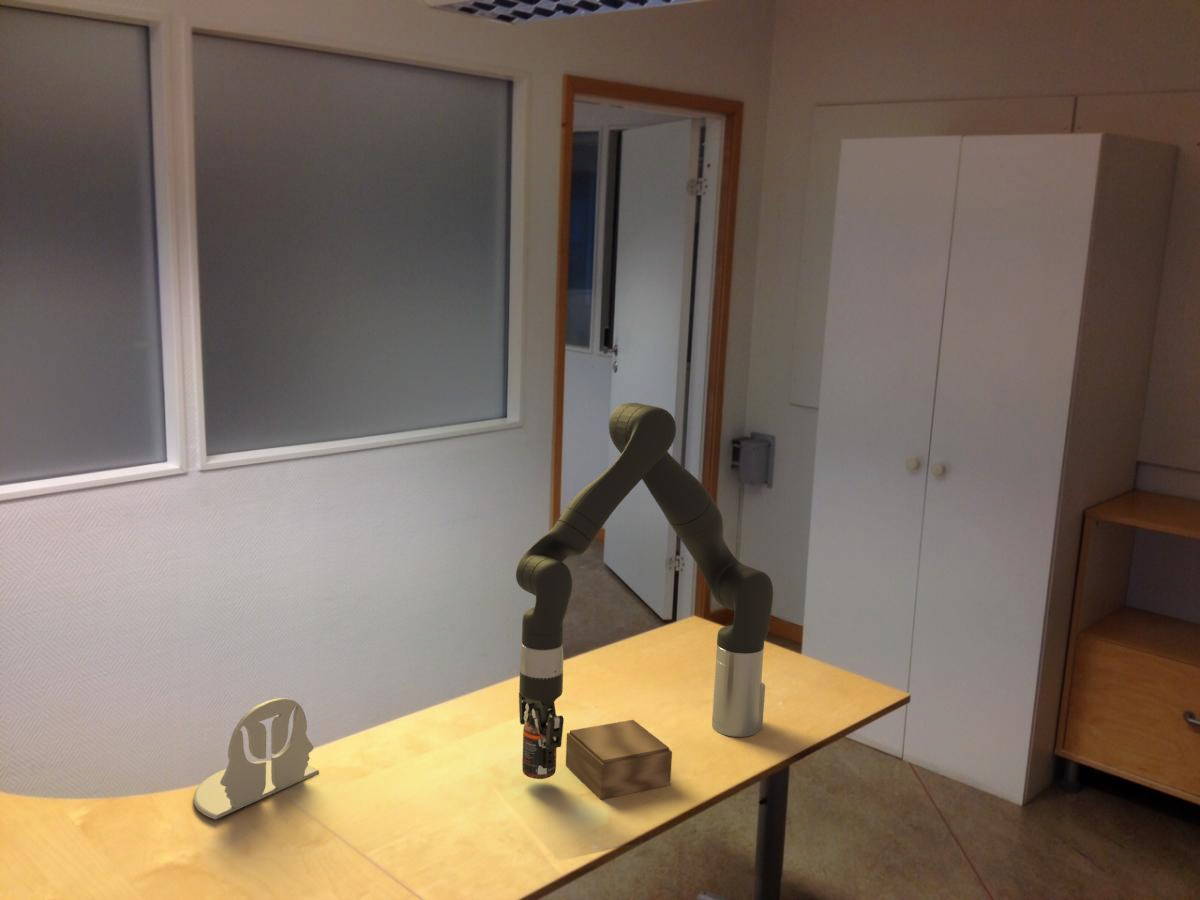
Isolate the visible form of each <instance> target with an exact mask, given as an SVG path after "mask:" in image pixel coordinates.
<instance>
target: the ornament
mask: <svg viewBox="0 0 1200 900" xmlns="http://www.w3.org/2000/svg"><path fill="white" fill-rule="evenodd" d="M292 713H293V714H292ZM291 715H293V717H292V718H293V719H292V729H291V735H290V737H289V724H290V719H291ZM271 718H273V720H272V722H271V730H270V731H271V735H270V737H271V740H270V741H271V742H270V743H271V744H270V745H271V754H273V756H271V757H270V760H265V759H266V758H267V728H266V725H265V724H264V723H262V721H265V720H267V719H268V720H269V719H271ZM307 722H308V721H307V718H306V714H305V711H304V708H303V707H302V706H301V705H300V704H299V703H298V702H297V701H296V700H293V699H290V698H287V697H285V698H284V697H278V698H274V699H269V700H266V701H264V702H262V703H259V704H258V705H256V706H254V707H252V708H251V709H249V711H247V712H246V713H245V714H244V715H243V716H242V717H241V718H240V719H239V722H237V724H236V726H235V727H234V729H233V732H232V734H231V737H230V740H229V745H228V749H227V751H228V752H227V759H228V764H227V767H226V768H225V769H222V770H220V771H217V772H215V773H213V774H211V775H210V776H209V777H207V778H205V779H204V780H203V781H202V782H201V783H200V784H199V785H198V786H197V787H196V789H195V791H194V794H193V803H194V806H195V808H196V809H197V810H198V811H199V812H200V813H201V814H203V815H204V816H206V817H208V818H210V819H213V820H218V819H221V818H222V817H224V816H226V815H228V814H231V813H233V812H235V811H237V810H239V809H242V808H243V807H246V806H248V805H251V804H253V803H255V802H258V801H261V800H262V799H264V798H267V797H268V796H271V795H273V794H276V793H277V792H280V791H282V790H284V789H286V788H289V787H291V786H292V785H295V784H297V783H300V782H302V781H304V780H306V779H308V778H311V777H313V776H316V775H317V774H319V773H320V771H319V770H318V769H316V768H315V767H314V766H310V765H309V761H310V759H311V758H310V755H309V754H310V753H311V752H312V751H314V745H313V743H312V742H311V741H310V740H309V738H308V736H307V729H308V724H307ZM243 727H244V728H245V729H246V732H247V737H248V750H249V753H250V755H251V756H252V757H254V758H256V759H258V761H249V760H248V759H247V756H246V753H245V748H244V735H243V731H242V728H243ZM288 737H289V741H288V743H287V740H288ZM286 743H287V744H286ZM259 760H260V761H259ZM270 765H271V766H270Z"/></svg>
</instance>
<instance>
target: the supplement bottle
mask: <svg viewBox="0 0 1200 900" xmlns="http://www.w3.org/2000/svg"><path fill="white" fill-rule="evenodd" d="M541 728H542V729H543V730H545V729H547V726H544V727H541ZM522 730H523V732H522V735H523V736H522V738H523V739H522V764H521V765H522V769H521V770H522V773H523V774H524V775H525V776H526V777H528V778H531V779H533V780H534V779H536V780H544V779H545V780H546V779H548V778H551V777H552V776H554V775H555V774H556V770H557V748H554V765H553V766H552V767H549V768H543V767H542V766H541V741H540V735H538V734H537V733H536V726H535V720H534V718H533V716H532V711H531V712H529V721H528V722H526V723H525V725H524V724H523V729H522ZM545 740H546V734H545Z"/></svg>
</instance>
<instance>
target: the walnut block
mask: <svg viewBox="0 0 1200 900" xmlns="http://www.w3.org/2000/svg"><path fill="white" fill-rule="evenodd" d="M565 745H566V746H565V748H566V749H565V767H566V768H567V769H568V770H569V771H570V772H571V773H572V774H573V775H574V776H576V778H577V779H579V781H580V782H582V783H583V785H585V786H586V787H587V788H588V789H589V790H590V791H591V792H592V793H593V794H594V795H595V796H596V797H598V799H599V800H601V801H602V800H605V799H611V798H617V797H620V796H625V795H630V794H635V793H639V792H644V791H650V790H654V789H658V788H659V789H660V788H664V787H669V786H671V782H672V781H671V780H672V763H673V762H672V759H673V751H672V750H671V748H670V747H669V746H667V744H665V743H664V742H663V741H661V740H660V739H659V738H657V737H656V736H654V735H653V734H652V733H651V732H650V731H648V730H647V729H646V728H644V726H642V725H641V724H640V723H638V722H637V721H635V720H634V719H629V720H624V721H619V722H618V721H617V722H612V723H606V724H600V725H594V726H590V727H583V728H582V727H581V728H578V729H577V728H576V729H571V730H569V732H566V744H565Z"/></svg>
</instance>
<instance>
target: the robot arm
mask: <svg viewBox="0 0 1200 900" xmlns="http://www.w3.org/2000/svg"><path fill="white" fill-rule="evenodd" d="M608 421H609V422H608V433H609V436H610V439H611V441H612V443H613V445H614V446H615V448H616V450H617V451H618V452H619V453H620V455H619V456H618V458H617V459H616V460H615V461H614V462H613V464H612V465H611V466H610V467H609V468H607V470H606V471H605V472H603V473H602V474H601V475H599V476H598V477H597V478H595V479H594V480H592V482H590V483H589V484H587V485H586V486H585V487H584V488H582V489H581V490H580V491H579V492H578V493H577V494H576V495H575V496H574V497H573V499H571V501H570V502H569V503H568V504H567V506H566V507H565V509H564V511H563V512H562V514H560V516H559V518H558V519H557V521H556V522H555V524H554V525H553V527H552V528H551V529H550V530H549V531H547V532H546V533H545V534H544V535H542V537H540V538H539V539H538V540H537V541H536V542H535V543H534V544H532V546H530V547H529V549H528V550H527V551H526V552H525V553H524V554H523V555H522V557H521V559H520V561H519V562H518V565H517V566H516V567H517V568H516V572H515V580H516V582H517V584H518V586H519V587H520V588H521V589H522V590H524V591H525V592H527V593H529V594H532V595H533V596H535V605H534V607H531V608H529V609H528V610H525V612H524V614H523V615H522V616H523V617H522V621H521V622H522V623H521V625H522V627H521V628H522V629H521V630H522V631H521V649H520V655H519V689H518V690H519V692H518V704H519V705H518V707H519V724H520V725H522V726H524V725H525V723H526V722H528V721H529V712H531V711H532V716H533V718H534V720H535V726H536V733H537V734H538V735H540V741H541V766H542V767H543V768H549V767H552V766H553V765H554V748H561V747H562V741H563V730H564V723H565V721H564V720H565V718H564V716H563V715H557V712H556V706H555V702H556V700H557V699H558V698H560V697H561V696H562V694H563V688H564V648H563V647H564V646H563V640H564V639H563V632H564V620H565V616H566V613H567V609H568V606H569V602H570V598H571V594H572V591H573V577H572V573H571V570H570V568H569V567H568V565H566V563H565V562H564V561H565V560H566V559H567V558H569V557H571V556H572V557H573V556H581V555H583V554H584V553H585V552H586V551H587V550H588V549H589V547H590V546H591V544H592V543H593V542H594V540H595V539H596V537H597V535H598V533H599V532H600V531H601V530H602V528H603V526H604V525H605V523H606V522H607V521H608V519H609V518H610V516H612V514H613V512H614V511H615V510H616V509H617V507H618V506H619V505H620V504H621V503H622V502H623V500H624V499H625V498H627V496H628V495H629V493H630V492H631V491H632V490H633V489H634V488H635V487H636V486H637V485H638V483H640V482H641V481H643V483H644V485H645V487H647V489H648V491H649V493H650V495H651V496H652V498H653V499H654V500H655V502H656V503H657V505H658V506H659V508H660V510H661V512H662V513H663V515H664V517H665V518H666V520H667V521H668V523H669V524H670V526H671V528H672V529H673V531H674V532H675V534H676V535H677V536H678V537H679V539H680V541H681V542H682V544H683V546H684V547H685V548H686V550H687V551H688V552H689V553H688V554H690V556H691V557H692V558H693V560H694V561H695V563H696V564H697V566H698V568H699V570H700V572H701V574H702V576H703V578H704V580H705V582H706V584H707V586H708V588H709V590H710V593H711V595H712V596H713V598H714V599H715V600H716V602H717V603H718V604H719V605H721V606H722V607H724V608H726V609H728V610H730V611H733V612H734V616H733V621H732V624H730V625H725V626H723V627H721V628H720V629H719V630H718V631H717V637H716V653H715V668H714V669H715V672H714V686H713V702H712V717H711V719H712V720H711V726H712V729H713V730H714V731H715V732H717V733H718V734H721V735H723V736H727V737H734V738H745V737H746V738H747V737H751V736H753V735H756V734H757V733H758V732H760V731H762V730H763V728H764V727H763V724H764V723H763V722H764V710H765V696H766V684H765V683H763V682H762V681H763V680H762V679H763V678H762V677H763V663H764V661H763V660H764V648H765V641H766V638H767V636H768V634H769V631H770V625H771V616H772V609H773V601H774V600H773V599H774V587H773V583H772V582H773V581H772V580H771V578H770V576H769V575H768V574H767V573H766V572H763V571H761V570H759V569H756V568H754V567H750V566H748V565H745V564H743V563H742V562H740V561H739V560H738V559H737V558H736V557H735V555H734V554H733V553H732V552H731V550H730V549H729V547H728V545H727V544H726V542H725V540H724V521H723V515H722V513H721V511H720V509H719V508H718V505H717V504H716V502H715V501H714V499H713V498H712V496H711V494H710V492H709V491H708V490H707V488H706V487H705V486H704V485H703V483H702V482H700V480H698V479H697V478H696V477H695V475H693V473H691V472H690V471H689V470H688V469H686V468H685V467H684V466H683V465H682V464H681V463H680V462H678V461H677V460H676V459H675V458H674V457H673V456H672V455H671V454H670V453H669V450H670V448H671V446H672V445H673V443H674V441H675V439H676V438H675V437H676V433H677V425H676V421H675V419H674V416H673V415H672V414H671V412H669V411H668V410H667V409H664V408H663V407H659V406H654V405H650V404H643V403H638V402H627V403H622V404H620V405H618V406H617V407H616V408H614V410H613V411H612V412H611V415H610V417H609V420H608ZM544 726H547V729H545V730H543V729H542V728H541V727H544ZM545 734H546V740H545Z"/></svg>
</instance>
